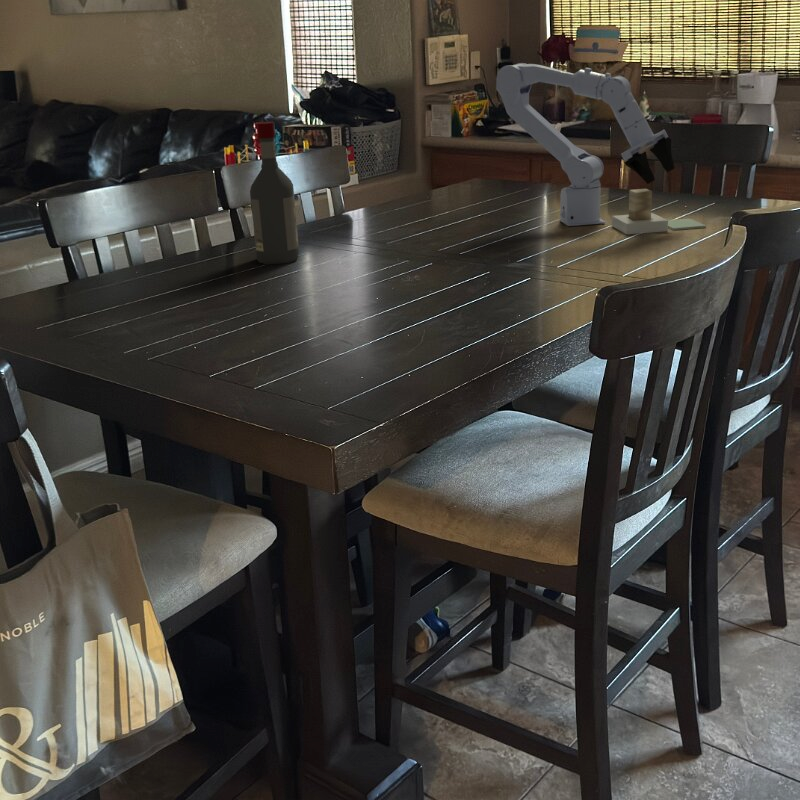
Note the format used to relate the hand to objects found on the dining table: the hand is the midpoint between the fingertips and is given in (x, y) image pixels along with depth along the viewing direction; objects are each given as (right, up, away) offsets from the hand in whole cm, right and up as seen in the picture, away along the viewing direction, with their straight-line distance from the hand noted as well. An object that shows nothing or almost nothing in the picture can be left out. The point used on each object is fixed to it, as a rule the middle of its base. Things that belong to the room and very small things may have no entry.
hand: (661, 176), depth 233 cm
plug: (-5, -12, +2) cm, 13 cm away
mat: (+6, -11, +3) cm, 13 cm away
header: (-5, -12, +2) cm, 13 cm away
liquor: (-89, -21, -9) cm, 92 cm away
